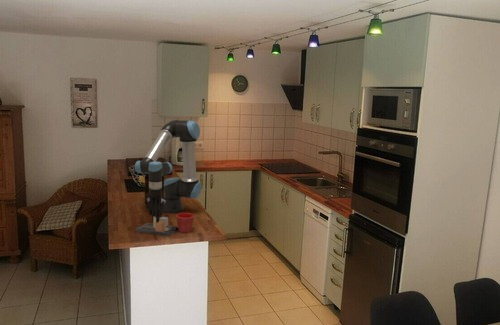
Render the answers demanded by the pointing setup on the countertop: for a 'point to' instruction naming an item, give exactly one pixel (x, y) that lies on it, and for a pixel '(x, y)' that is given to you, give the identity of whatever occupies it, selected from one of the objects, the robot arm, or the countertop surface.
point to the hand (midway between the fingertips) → (155, 226)
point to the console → (151, 229)
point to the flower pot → (185, 222)
